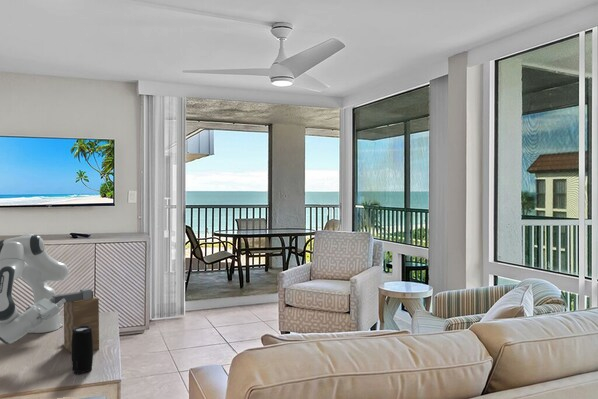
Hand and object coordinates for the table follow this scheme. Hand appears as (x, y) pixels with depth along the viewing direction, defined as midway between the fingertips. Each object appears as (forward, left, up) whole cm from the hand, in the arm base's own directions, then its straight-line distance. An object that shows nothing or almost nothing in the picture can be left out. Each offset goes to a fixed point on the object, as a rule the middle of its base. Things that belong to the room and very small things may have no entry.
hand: (61, 297), depth 226 cm
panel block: (-4, +10, -28) cm, 31 cm away
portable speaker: (+27, 0, -29) cm, 39 cm away
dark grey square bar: (0, +5, -2) cm, 6 cm away
